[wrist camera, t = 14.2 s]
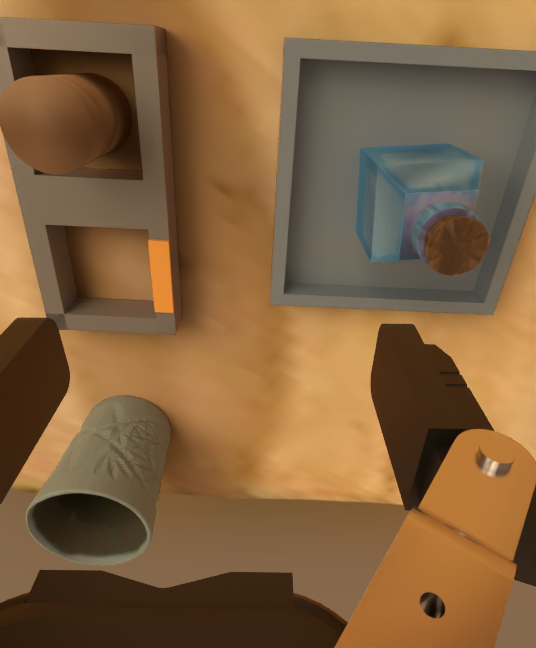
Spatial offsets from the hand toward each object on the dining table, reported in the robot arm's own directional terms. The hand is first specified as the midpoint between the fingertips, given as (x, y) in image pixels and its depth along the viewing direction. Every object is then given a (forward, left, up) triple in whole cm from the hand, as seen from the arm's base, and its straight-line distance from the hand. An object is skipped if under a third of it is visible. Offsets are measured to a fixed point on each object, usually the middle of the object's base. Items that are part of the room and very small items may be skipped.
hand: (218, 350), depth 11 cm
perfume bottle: (+1, +11, -25) cm, 27 cm away
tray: (+1, +11, -25) cm, 27 cm away
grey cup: (+27, -12, -25) cm, 39 cm away
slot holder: (+3, -11, -25) cm, 28 cm away
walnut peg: (-3, -11, -25) cm, 28 cm away
